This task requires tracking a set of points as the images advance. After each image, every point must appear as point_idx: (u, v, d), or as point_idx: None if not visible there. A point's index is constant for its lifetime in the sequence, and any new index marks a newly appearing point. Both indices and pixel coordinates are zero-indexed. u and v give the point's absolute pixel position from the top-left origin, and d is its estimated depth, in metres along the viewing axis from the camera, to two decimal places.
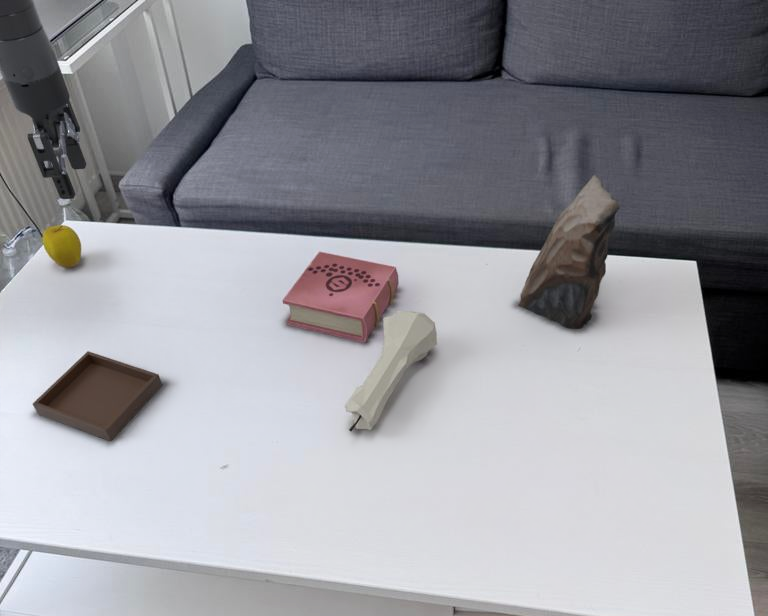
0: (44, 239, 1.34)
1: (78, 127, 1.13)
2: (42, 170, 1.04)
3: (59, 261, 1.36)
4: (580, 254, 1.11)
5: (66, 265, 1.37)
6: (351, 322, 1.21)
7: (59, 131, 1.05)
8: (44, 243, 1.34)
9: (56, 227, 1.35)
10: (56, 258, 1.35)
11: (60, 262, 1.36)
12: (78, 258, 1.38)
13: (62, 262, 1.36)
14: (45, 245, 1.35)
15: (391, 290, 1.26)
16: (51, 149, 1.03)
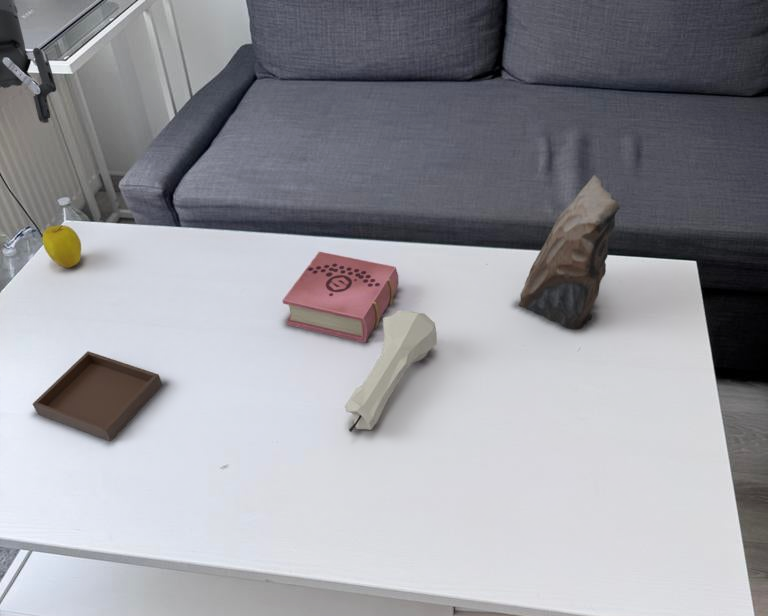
0: (44, 239, 1.34)
1: None
2: (48, 79, 1.22)
3: (59, 261, 1.36)
4: (580, 254, 1.11)
5: (66, 265, 1.37)
6: (351, 322, 1.21)
7: None
8: (44, 243, 1.34)
9: (56, 227, 1.35)
10: (56, 258, 1.35)
11: (60, 262, 1.36)
12: (78, 258, 1.38)
13: (62, 262, 1.36)
14: (45, 245, 1.35)
15: (391, 290, 1.26)
16: None
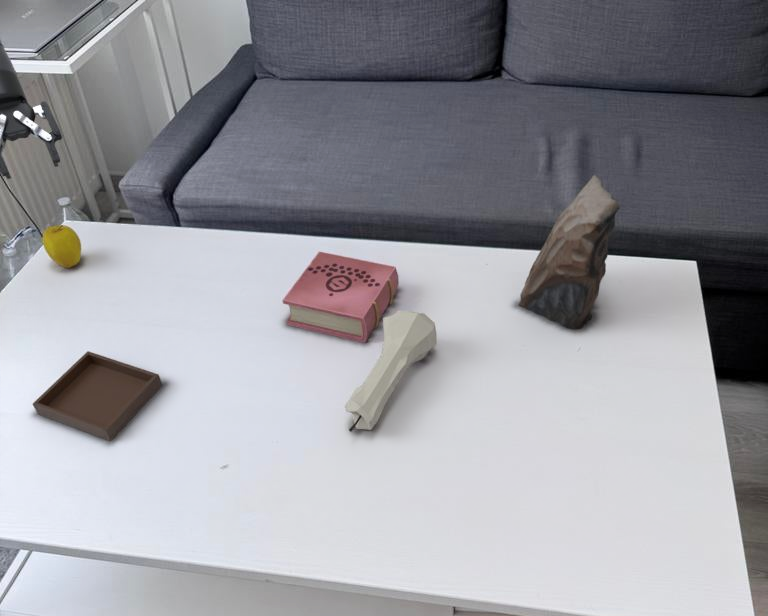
0: (44, 239, 1.34)
1: None
2: (58, 127, 1.34)
3: (59, 261, 1.36)
4: (580, 254, 1.11)
5: (66, 265, 1.37)
6: (351, 322, 1.21)
7: None
8: (44, 243, 1.34)
9: (56, 227, 1.35)
10: (56, 258, 1.35)
11: (60, 262, 1.36)
12: (78, 258, 1.38)
13: (62, 262, 1.36)
14: (45, 245, 1.35)
15: (391, 290, 1.26)
16: None
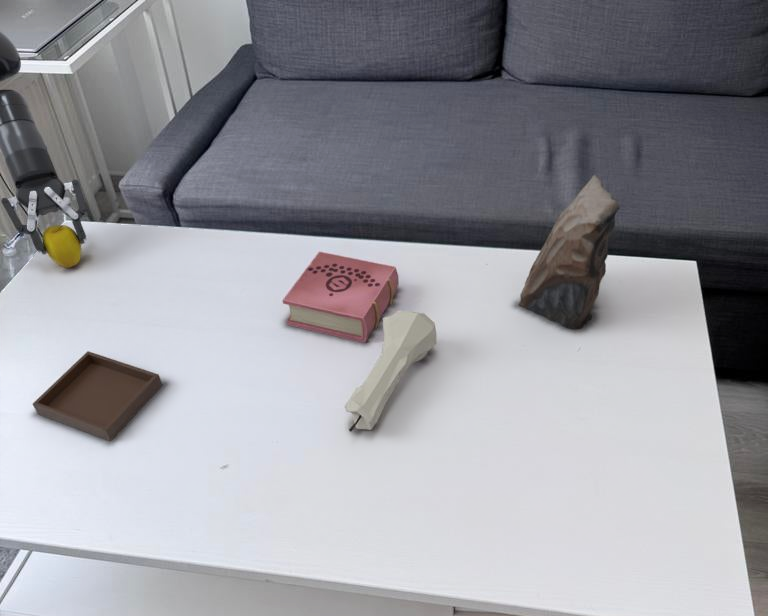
0: (44, 239, 1.34)
1: None
2: (85, 206, 1.35)
3: (59, 261, 1.36)
4: (580, 254, 1.11)
5: (66, 265, 1.37)
6: (351, 322, 1.21)
7: None
8: (44, 243, 1.34)
9: (56, 227, 1.35)
10: (56, 258, 1.35)
11: (60, 262, 1.36)
12: (78, 258, 1.38)
13: (62, 262, 1.36)
14: (45, 245, 1.35)
15: (391, 290, 1.26)
16: None
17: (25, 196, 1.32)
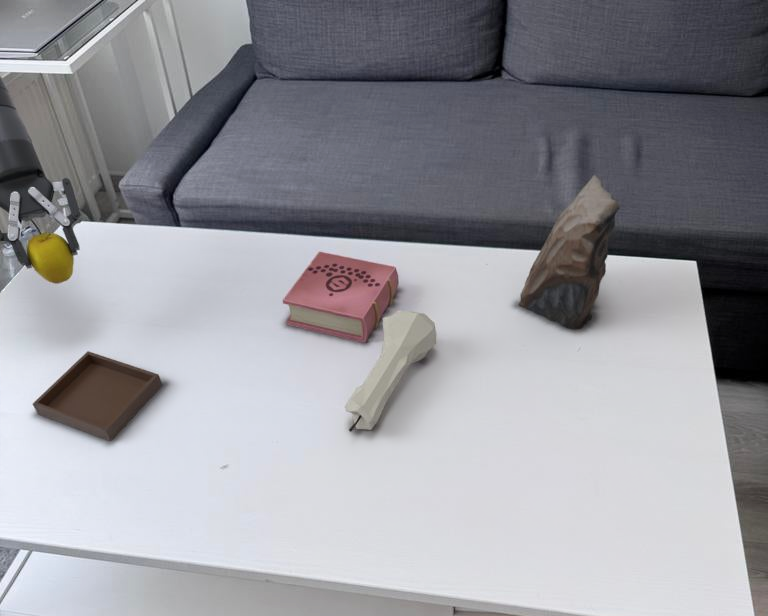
0: (29, 250, 1.11)
1: None
2: (78, 210, 1.12)
3: (47, 276, 1.13)
4: (580, 254, 1.11)
5: (55, 281, 1.15)
6: (351, 322, 1.21)
7: None
8: (29, 255, 1.12)
9: (43, 235, 1.12)
10: (43, 273, 1.13)
11: (48, 277, 1.14)
12: (70, 272, 1.15)
13: (51, 277, 1.14)
14: (30, 257, 1.12)
15: (391, 290, 1.26)
16: None
17: (5, 198, 1.09)
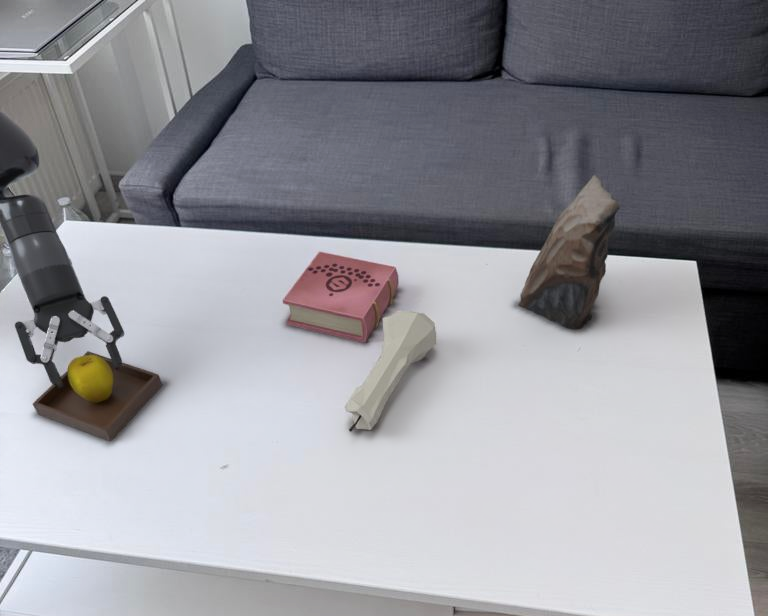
0: (69, 374, 1.11)
1: None
2: None
3: (87, 398, 1.13)
4: (580, 254, 1.11)
5: (95, 402, 1.14)
6: (351, 322, 1.21)
7: None
8: (69, 378, 1.11)
9: (84, 358, 1.12)
10: (84, 395, 1.12)
11: (88, 399, 1.13)
12: (109, 392, 1.15)
13: (91, 399, 1.13)
14: (71, 380, 1.11)
15: (391, 290, 1.26)
16: None
17: (45, 322, 1.09)
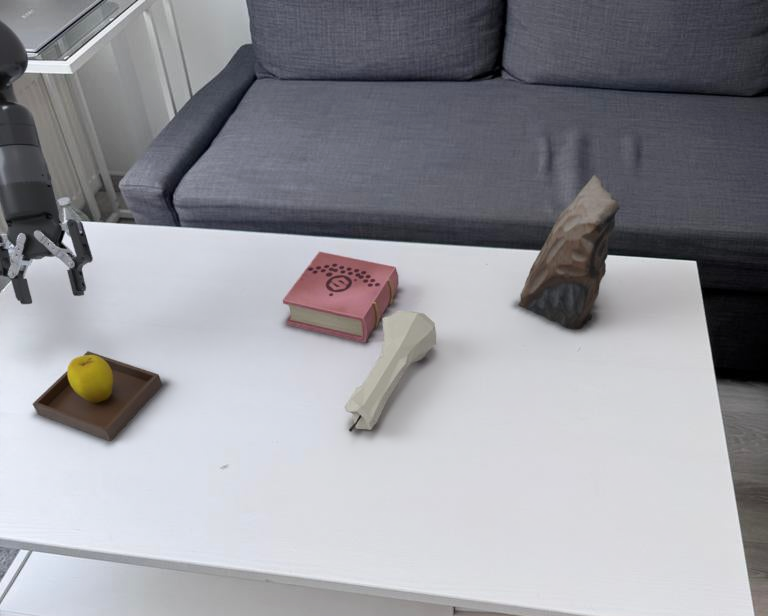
0: (69, 374, 1.11)
1: None
2: (84, 252, 1.09)
3: (87, 398, 1.13)
4: (580, 254, 1.11)
5: (95, 402, 1.14)
6: (351, 322, 1.21)
7: None
8: (69, 378, 1.11)
9: (84, 358, 1.12)
10: (84, 395, 1.12)
11: (88, 399, 1.13)
12: (109, 392, 1.15)
13: (91, 399, 1.13)
14: (71, 380, 1.11)
15: (391, 290, 1.26)
16: None
17: (15, 237, 1.09)
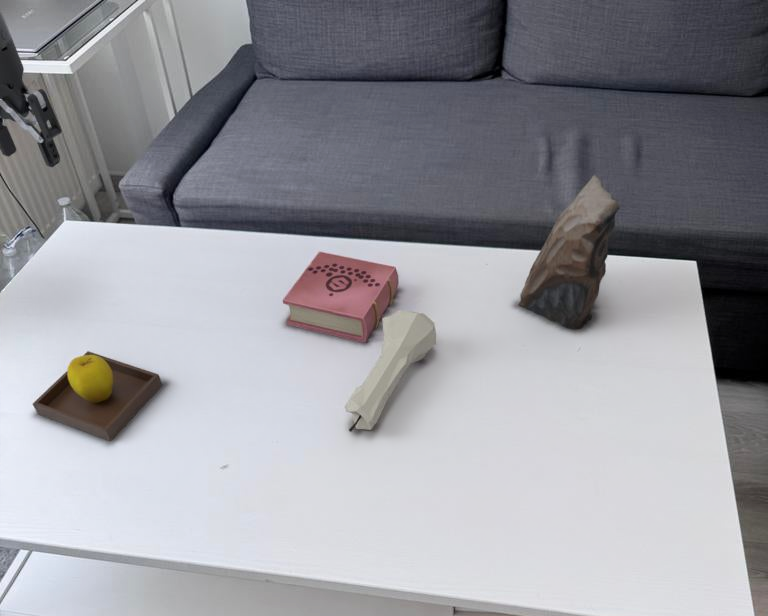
0: (69, 374, 1.11)
1: None
2: (49, 131, 1.04)
3: (87, 398, 1.13)
4: (580, 254, 1.11)
5: (95, 402, 1.14)
6: (351, 322, 1.21)
7: None
8: (69, 378, 1.11)
9: (84, 358, 1.12)
10: (84, 395, 1.12)
11: (88, 399, 1.13)
12: (109, 392, 1.15)
13: (91, 399, 1.13)
14: (71, 380, 1.11)
15: (391, 290, 1.26)
16: None
17: None
